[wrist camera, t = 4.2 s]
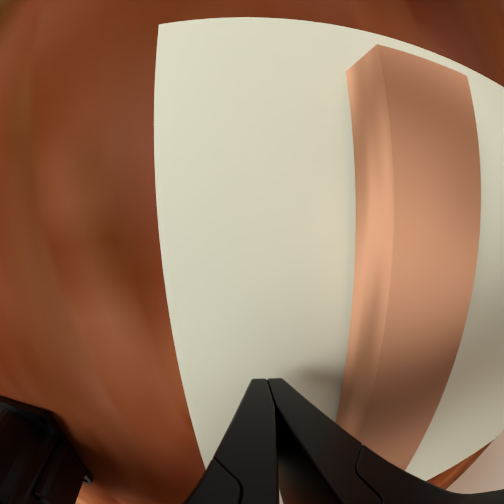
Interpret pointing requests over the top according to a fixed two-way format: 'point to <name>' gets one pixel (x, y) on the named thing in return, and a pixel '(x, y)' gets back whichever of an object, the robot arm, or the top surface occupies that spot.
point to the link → (408, 245)
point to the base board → (295, 224)
